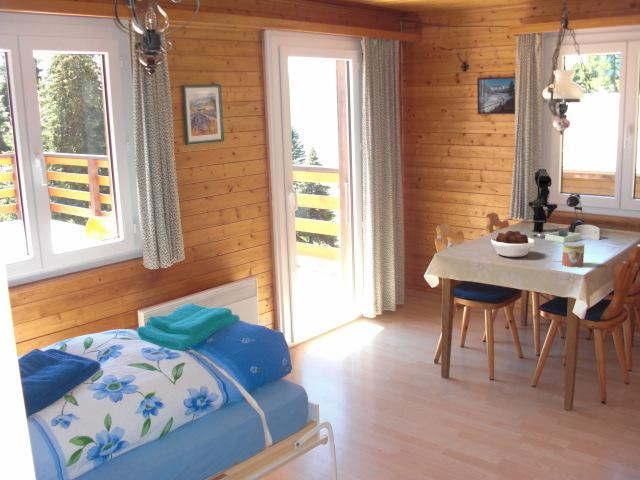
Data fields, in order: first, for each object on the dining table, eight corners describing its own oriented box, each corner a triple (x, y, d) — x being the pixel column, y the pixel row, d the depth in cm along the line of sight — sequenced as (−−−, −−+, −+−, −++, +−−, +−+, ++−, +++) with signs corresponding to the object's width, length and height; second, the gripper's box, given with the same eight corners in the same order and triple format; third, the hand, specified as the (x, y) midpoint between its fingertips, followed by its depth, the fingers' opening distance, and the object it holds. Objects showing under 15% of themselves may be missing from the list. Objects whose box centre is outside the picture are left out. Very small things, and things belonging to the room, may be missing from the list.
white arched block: (572, 237, 476) (574, 223, 477) (573, 239, 480) (575, 224, 481) (599, 240, 467) (601, 225, 468) (600, 241, 471) (602, 226, 472)
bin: (562, 236, 480) (562, 230, 479) (580, 240, 469) (581, 233, 468) (545, 240, 469) (545, 234, 468) (563, 243, 458) (564, 237, 457)
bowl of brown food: (501, 249, 444) (502, 225, 441) (540, 254, 429) (542, 229, 426) (482, 256, 425) (483, 231, 422) (523, 262, 410) (524, 236, 407)
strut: (558, 238, 469) (559, 226, 468) (562, 237, 472) (562, 225, 470) (563, 239, 466) (564, 227, 464) (567, 238, 468) (568, 226, 467)
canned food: (563, 267, 398) (564, 245, 396) (560, 262, 409) (561, 241, 407) (584, 267, 396) (586, 246, 394) (581, 263, 407) (582, 242, 405)
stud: (538, 234, 487) (539, 231, 486) (550, 236, 479) (550, 233, 479) (530, 236, 481) (530, 233, 481) (541, 238, 474) (541, 235, 474)
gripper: (523, 194, 474) (522, 217, 478) (547, 197, 460) (546, 221, 463) (534, 192, 481) (533, 215, 484) (558, 195, 466) (557, 219, 469)
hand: (542, 218), depth 475 cm, fingers open, 9 cm apart
